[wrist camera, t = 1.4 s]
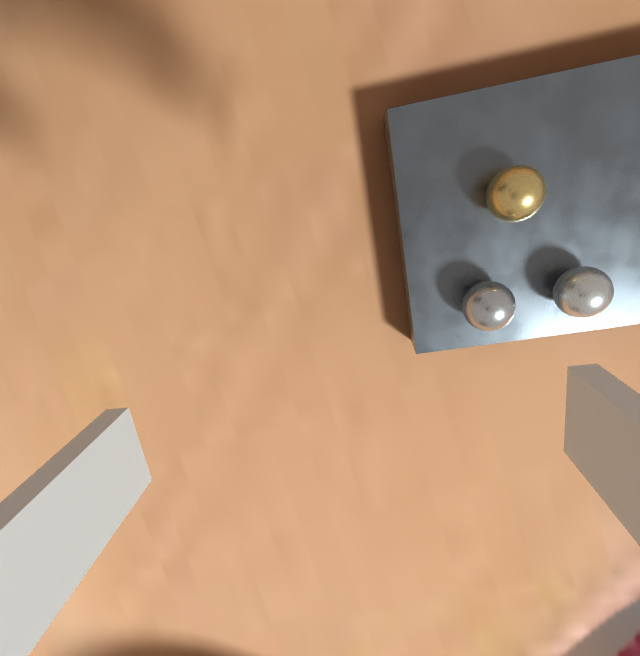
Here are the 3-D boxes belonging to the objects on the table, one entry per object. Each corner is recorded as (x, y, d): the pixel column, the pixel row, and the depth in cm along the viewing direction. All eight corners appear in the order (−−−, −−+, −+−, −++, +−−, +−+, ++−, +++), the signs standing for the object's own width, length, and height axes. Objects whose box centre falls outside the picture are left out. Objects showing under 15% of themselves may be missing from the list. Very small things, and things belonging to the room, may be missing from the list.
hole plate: (383, 116, 29) (387, 109, 26) (766, 35, 26) (817, 15, 23) (411, 340, 34) (416, 353, 31) (733, 295, 31) (771, 305, 28)
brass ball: (477, 171, 27) (494, 169, 24) (532, 161, 26) (556, 157, 23) (480, 224, 28) (497, 229, 25) (533, 215, 27) (557, 218, 24)
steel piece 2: (543, 266, 28) (567, 276, 25) (596, 258, 28) (627, 267, 25) (544, 313, 29) (567, 328, 26) (595, 305, 29) (625, 320, 26)
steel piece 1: (455, 280, 29) (467, 291, 26) (504, 272, 29) (523, 283, 26) (458, 325, 30) (471, 341, 27) (506, 318, 30) (525, 334, 27)
